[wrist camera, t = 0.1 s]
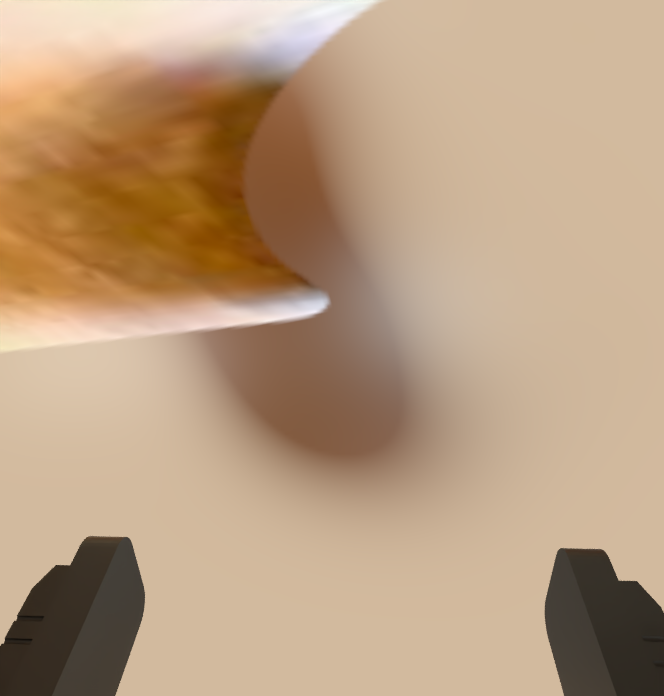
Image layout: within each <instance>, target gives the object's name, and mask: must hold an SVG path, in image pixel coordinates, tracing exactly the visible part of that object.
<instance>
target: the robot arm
mask: <svg viewBox="0 0 664 696" xmlns="http://www.w3.org/2000/svg"><path fill="white" fill-rule="evenodd" d="M144 603H145V592H144V586H143V583H142V579H141V575H140V571H139V568H138V564H137V560H136V557H135V553H134V549H133V546H132V543H131V540H130V539H129V538H128V537H97V536H90V537H87V538H86V539H84V541H83V542H82V544H81V545H80V547H79V549H78V551H77V553H76V555H75V557H74V559H73V561H72V563H71V565H70V566H68V565H56V566H55V567H54V568H53V569H52V570H50V572H48V573H47V574H46V575H45V576H44V577H43V578H42V579H41V580H40V581H39V583H37V584H36V585H35V586H34V587H33V588H32V590H31V591H30V593H29V595H28V597H27V599H26V601H25V602H24V604H23V606H22V608H21V610H20V612H19V613H18V615H17V620H16V621H14V622H13V624H12V626H11V628H10V630H9V631H8V633H7V635H6V637H5V642H4V644H1V646H0V696H115V695H116V692H117V689H118V686H119V683H120V681H121V678H122V675H123V672H124V669H125V666H126V663H127V661H128V658H129V655H130V652H131V649H132V647H133V644H134V641H135V638H136V635H137V632H138V630H139V627H140V624H141V621H142V617H143V612H144ZM545 622H546V629H547V634H548V639H549V642H550V646H551V649H552V653H553V657H554V660H555V664H556V668H557V671H558V675H559V678H560V682H561V686H562V689H563V693H564V696H664V613H663V611H662V609H661V607H660V606H659V605H658V604H657V603H656V601H655V600H654V599H653V598H652V597H651V596H650V595H649V594H648V593H647V592H646V591H645V590H644V588H643V587H642V586H641V585H640V584H639V583H638V582H637V581H618V578H617V576H616V573H615V571H614V569H613V566H612V564H611V562H610V559H609V557H608V555H607V554H606V552H605V551H604V550H601V549H567V548H561V549H559V550H558V552H557V555H556V559H555V563H554V567H553V572H552V576H551V580H550V584H549V588H548V592H547V597H546V602H545Z"/></svg>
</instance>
